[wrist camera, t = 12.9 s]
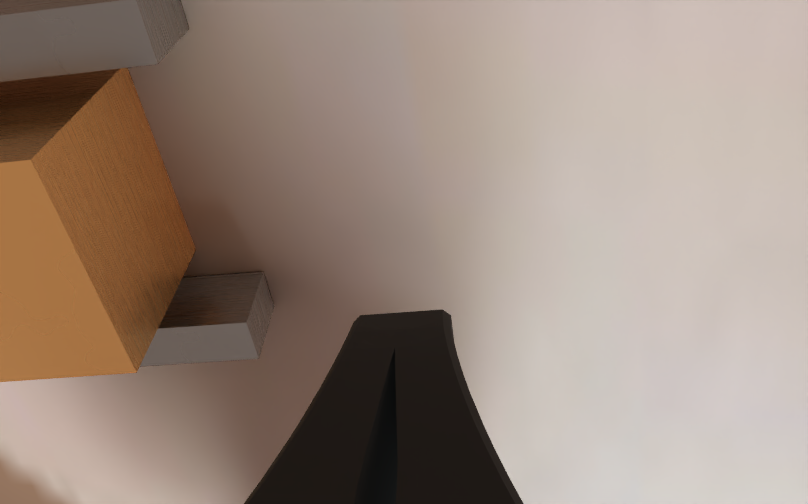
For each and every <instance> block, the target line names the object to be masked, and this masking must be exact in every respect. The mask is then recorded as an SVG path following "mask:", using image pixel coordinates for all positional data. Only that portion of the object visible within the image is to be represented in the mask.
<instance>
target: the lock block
mask: <svg viewBox="0 0 808 504" xmlns="http://www.w3.org/2000/svg"><path fill="white" fill-rule="evenodd" d="M195 251H196V249H195V246H194V243H193V241H192V238H191V235H190V233H189V230H188V227H187V225H186V222H185V219H184V217H183V214H182V211H181V209H180V206H179V203H178V201H177V198H176V195H175V193H174V190H173V187H172V185H171V182H170V179H169V177H168V174H167V172H166V169H165V166H164V164H163V161H162V158H161V156H160V153H159V150H158V148H157V145H156V142H155V140H154V137H153V134H152V132H151V129H150V126H149V124H148V121H147V118H146V116H145V113H144V110H143V108H142V105H141V102H140V100H139V97H138V94H137V92H136V89H135V86H134V84H133V81H132V78H131V76H130V73H129V70H128V68H120V69H111V70H103V71H94V72H85V73H76V74H67V75H58V76H49V77H40V78H31V79H22V80H14V81H5V82H0V382H6V381H21V380H36V379H50V378H65V377H80V376H94V375H109V374H124V373H137V371H138V369H139V367H140V365H141V363H142V360H143V358H144V356H145V354H146V352H147V350H148V348H149V346H150V344H151V342H152V340H153V338H154V336H155V334H156V331H157V329H158V327H159V325H160V323H161V321H162V319H163V317H164V315H165V313H166V311H167V309H168V307H169V305H170V302H171V300H172V298H173V296H174V294H175V292H176V290H177V288H178V286H179V284H180V282H181V280H182V278H183V276H184V273H185V271H186V269H187V267H188V265H189V263H190V261H191V259H192V257H193V255H194V253H195Z"/></svg>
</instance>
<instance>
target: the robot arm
mask: <svg viewBox="0 0 808 504" xmlns="http://www.w3.org/2000/svg"><path fill="white" fill-rule="evenodd" d="M244 504H523V502H522V500H521V498H520V497H519V495H518V493H517V491H516V489H515V488H514V486H513V484H512V482H511V480H510V478H509V476H508V474H507V472H506V471H505V469H504V467H503V465H502V463H501V461H500V459H499V457H498V455H497V453H496V451H495V449H494V447H493V445H492V442H491V440H490V438H489V436H488V434H487V432H486V430H485V427H484V425H483V423H482V420H481V418H480V416H479V413H478V411H477V408H476V406H475V404H474V401H473V399H472V396H471V394H470V392H469V389H468V386H467V383H466V381H465V378H464V375H463V372H462V369H461V366H460V362H459V359H458V356H457V352H456V348H455V344H454V338H453V329H452V321H451V315H449V314H448V313H447V312H445V311H444V310H430V311H416V312H402V313H388V314H374V315H360V316H359V317H358V318H357V319H356V320H355V321H354V323H353V325H352V327H351V330H350V332H349V334H348V336H347V338H346V340H345V342H344V344H343V346H342V348H341V350H340V352H339V354H338V356H337V358H336V360H335V362H334V364H333V365H332V367H331V369H330V371H329V373H328V375H327V376H326V378H325V380H324V382H323V384H322V386H321V387H320V389H319V391H318V392H317V394H316V396H315V397H314V399H313V401H312V402H311V404H310V406H309V407H308V409H307V411H306V412H305V414H304V416H303V418H302V419H301V421H300V423H299V424H298V426H297V427H296V429H295V431H294V432H293V434H292V435H291V437H290V438H289V440H288V441H287V443H286V444H285V446H284V447H283V449H282V450H281V452H280V453H279V455H278V456H277V458H276V459H275V461H274V462H273V463H272V465H271V466H270V468H269V469H268V471H267V472H266V474H265V475H264V477H263V478H262V480H261V481H260V483H259V484H258V485H257V487H256V488H255V489H254V491H253V492H252V494H251V495H250V496H249V498H248V499H247V500H246V502H245V503H244Z"/></svg>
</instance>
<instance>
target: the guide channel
mask: <svg viewBox="0 0 808 504" xmlns="http://www.w3.org/2000/svg"><path fill="white" fill-rule="evenodd" d="M188 30H189V27H188V24H187V21H186V17H185V14H184V11H183V8H182V4H181V1H180V0H0V82H5V81H14V80H22V79H31V78H40V77H49V76H58V75H67V74H76V73H85V72H94V71H103V70H111V69H120V68H129V67H138V66H147V65H156V64H158V63H159V62H160V61H161V60H162V59H163V58H164V57H165V55H166V54H167V53H168V52H169V51H170V50H171V49H172V48H173V46H174V45H175V44H176V43H177V42H178V41H179V40H180V39H181V37H182V36H183V35H184V34H185V33H186V32H187V31H188ZM273 309H274V305H273V301H272V298H271V295H270V291H269V288H268V285H267V282H266V278H265V275H264V272H251V273H238V274H226V275H213V276H200V277H187V278H182V280H181V282H180V284H179V286H178V288H177V290H176V292H175V294H174V296H173V298H172V300H171V302H170V305H169V307H168V309H167V311H166V313H165V315H164V317H163V319H162V321H161V323H160V325H159V327H158V329H157V331H156V334H155V336H154V338H153V340H152V342H151V344H150V346H149V348H148V350H147V352H146V354H145V356H144V358H143V360H142V363H141V365H140V366H154V365H170V364H186V363H201V362H217V361H233V360H248V359H259V356H260V352H261V349H262V346H263V342H264V339H265V336H266V332H267V329H268V326H269V322H270V319H271V315H272V312H273Z"/></svg>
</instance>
